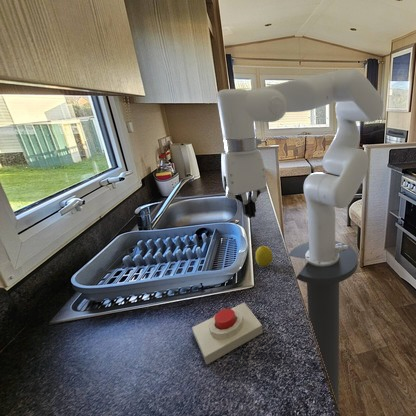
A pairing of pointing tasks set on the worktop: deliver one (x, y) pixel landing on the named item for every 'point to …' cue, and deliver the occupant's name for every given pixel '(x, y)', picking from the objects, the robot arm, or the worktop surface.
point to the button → (225, 319)
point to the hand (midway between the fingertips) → (250, 215)
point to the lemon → (263, 256)
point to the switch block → (226, 334)
